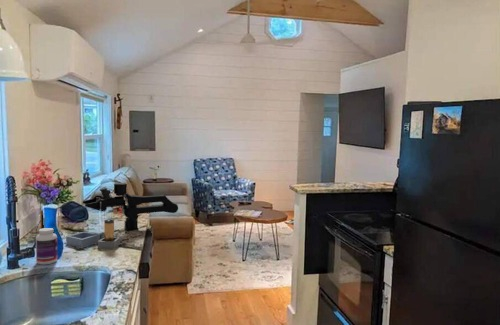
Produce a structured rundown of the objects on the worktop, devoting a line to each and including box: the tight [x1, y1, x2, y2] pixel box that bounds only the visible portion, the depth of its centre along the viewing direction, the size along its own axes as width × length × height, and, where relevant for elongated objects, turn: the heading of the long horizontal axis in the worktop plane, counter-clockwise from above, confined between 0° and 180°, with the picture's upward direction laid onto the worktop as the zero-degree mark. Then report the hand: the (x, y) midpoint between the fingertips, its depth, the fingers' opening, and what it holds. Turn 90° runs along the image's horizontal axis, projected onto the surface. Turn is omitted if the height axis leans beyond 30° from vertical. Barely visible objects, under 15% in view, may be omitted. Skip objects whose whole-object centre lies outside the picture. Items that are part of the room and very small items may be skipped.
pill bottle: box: [35, 228, 58, 266], centre depth 161 cm, size 8×8×14 cm
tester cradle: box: [97, 236, 121, 250], centre depth 185 cm, size 8×8×4 cm
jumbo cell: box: [103, 218, 115, 241], centre depth 185 cm, size 4×4×13 cm
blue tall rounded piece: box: [35, 197, 63, 236], centre depth 204 cm, size 15×10×20 cm
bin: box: [65, 230, 101, 249], centre depth 189 cm, size 11×11×4 cm
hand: (84, 203), depth 204 cm, fingers open, 9 cm apart
